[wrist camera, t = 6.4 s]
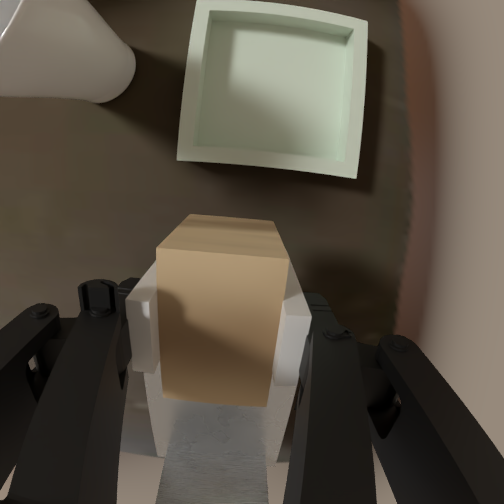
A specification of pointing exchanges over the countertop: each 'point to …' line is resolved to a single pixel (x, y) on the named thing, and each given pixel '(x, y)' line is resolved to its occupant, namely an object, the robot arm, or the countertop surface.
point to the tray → (274, 87)
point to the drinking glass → (61, 52)
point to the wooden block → (220, 309)
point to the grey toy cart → (216, 446)
